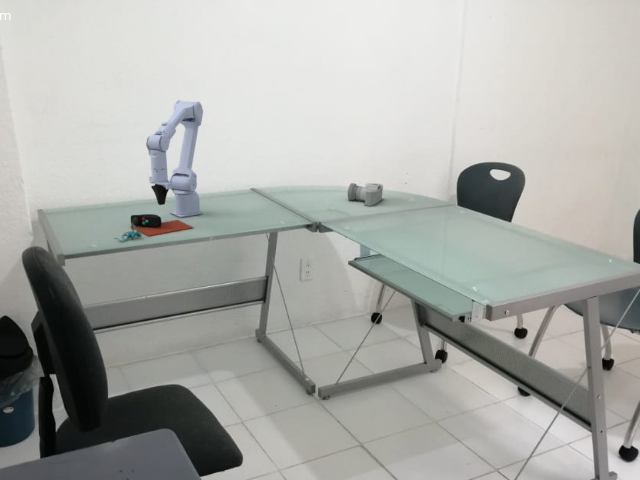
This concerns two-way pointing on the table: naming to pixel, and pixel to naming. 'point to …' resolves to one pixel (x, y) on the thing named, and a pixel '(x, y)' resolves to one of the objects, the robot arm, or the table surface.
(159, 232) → the mat
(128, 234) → the dragon figurine
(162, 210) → the table surface
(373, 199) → the digital camera
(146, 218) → the controller
